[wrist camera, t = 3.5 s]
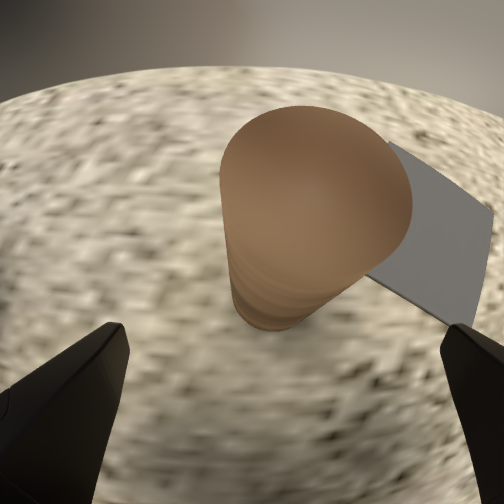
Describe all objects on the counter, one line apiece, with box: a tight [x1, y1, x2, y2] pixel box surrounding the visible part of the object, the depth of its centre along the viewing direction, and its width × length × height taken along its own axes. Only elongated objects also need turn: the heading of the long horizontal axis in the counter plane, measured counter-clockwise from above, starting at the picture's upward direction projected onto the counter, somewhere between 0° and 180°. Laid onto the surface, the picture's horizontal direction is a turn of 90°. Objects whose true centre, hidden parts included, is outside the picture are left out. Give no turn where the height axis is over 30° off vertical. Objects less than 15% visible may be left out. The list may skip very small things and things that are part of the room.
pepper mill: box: [220, 106, 413, 331], centre depth 13 cm, size 5×5×12 cm
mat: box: [366, 141, 494, 328], centre depth 21 cm, size 12×12×1 cm
